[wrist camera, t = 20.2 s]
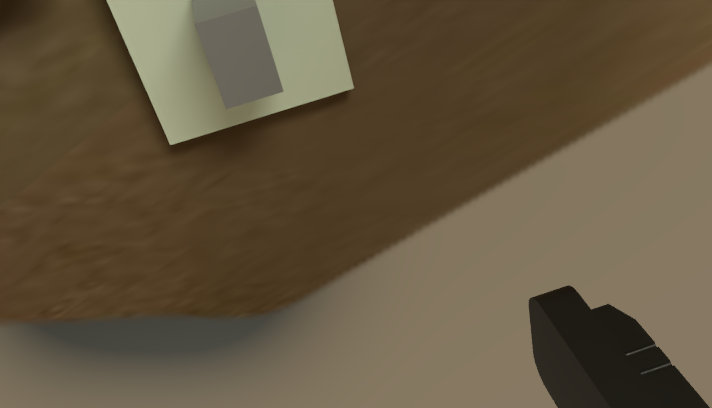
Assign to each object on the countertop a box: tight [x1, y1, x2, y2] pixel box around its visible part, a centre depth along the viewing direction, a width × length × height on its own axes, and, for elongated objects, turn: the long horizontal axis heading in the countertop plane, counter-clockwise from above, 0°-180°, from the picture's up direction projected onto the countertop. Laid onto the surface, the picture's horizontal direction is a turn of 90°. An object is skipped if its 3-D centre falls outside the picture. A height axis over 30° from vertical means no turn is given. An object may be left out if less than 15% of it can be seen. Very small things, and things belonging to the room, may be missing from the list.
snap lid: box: [107, 0, 354, 145], centre depth 28 cm, size 9×9×6 cm
